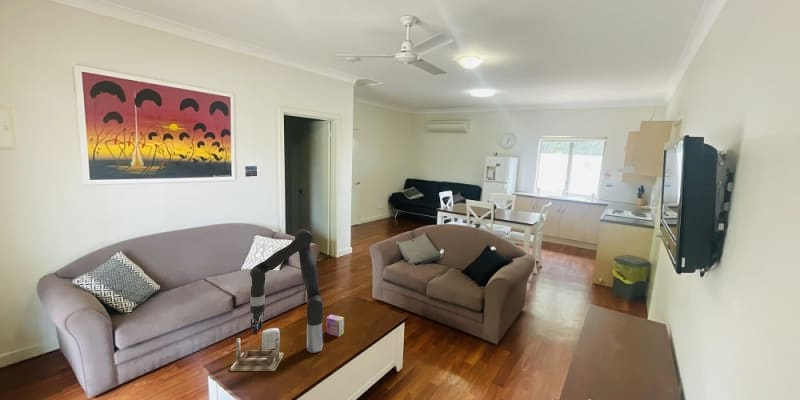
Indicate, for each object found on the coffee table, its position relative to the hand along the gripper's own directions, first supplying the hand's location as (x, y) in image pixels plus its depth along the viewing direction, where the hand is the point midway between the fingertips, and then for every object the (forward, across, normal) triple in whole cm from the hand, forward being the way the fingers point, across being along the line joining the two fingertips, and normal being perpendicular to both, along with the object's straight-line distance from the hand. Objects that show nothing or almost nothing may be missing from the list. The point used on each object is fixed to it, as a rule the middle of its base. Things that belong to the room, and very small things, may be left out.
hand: (257, 331), depth 183 cm
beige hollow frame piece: (+19, 0, 0) cm, 19 cm away
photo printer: (+19, +15, -2) cm, 24 cm away
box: (+19, +32, -39) cm, 54 cm away
